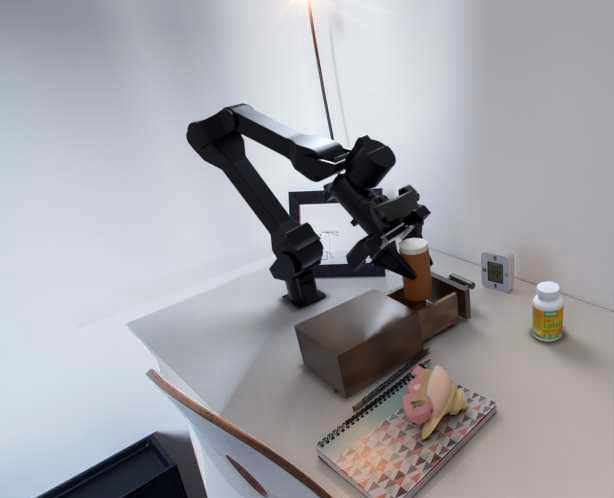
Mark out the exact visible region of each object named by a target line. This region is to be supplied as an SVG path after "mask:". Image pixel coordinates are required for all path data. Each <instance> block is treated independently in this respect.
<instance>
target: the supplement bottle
mask: <svg viewBox="0 0 614 498" xmlns="http://www.w3.org/2000/svg"><path fill="white" fill-rule="evenodd" d="M564 302H565V300H564V298H563V297H562V295H561V286H560V285H559V283H557V282H555V281H548V280H547V281H541V282H539V283H538V284H537V285H536V294H535V296H533V298H532V327H531V329H532V330H531V331H532V336H533V337H534V338H535V339H536V340H539V341H541V342H546V343H547V342H548V343H549V342H555V341H557V340H559V339H560V338H562V336H563V327H564V305H565V303H564Z"/></svg>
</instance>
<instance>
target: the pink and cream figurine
mask: <svg viewBox="0 0 614 498" xmlns="http://www.w3.org/2000/svg"><path fill="white" fill-rule="evenodd" d="M410 376H413V377H414V378H413V379H411V380H409V381H408V385H407V387H406V392H407V393H406V394H403V395H402V397H401V403H402V409H403V410H402V411H403V412H404V415H405V418H406V419H407V420H408V421H409V422H413V423H414V424H415V425H422V424H424V425H423V427H422V431H421V440H425V439H427V438H428V437H429V436H430V435H431V434H432V433H433V431H434V430H435V428H436V426H438V424H439V423H440V421H441V420H442V418H443V417H444V416H445V415H447V414H449V415H450V416H453V415H454V416H456V415H457V414H458V413H459V412H460V410H465V409H466V408H467V407H468V405H469V403H468V401H467V400H466V399H465V395H466V394H465V391H464V390H463V389H462V388H458V386H457V382H456V380H454V381H453V379H452V378H450V377H449V375H448V373H447V371H445V369H444V368H443V367H442V366H440V365H439V364H436V366H435V367H434V368H423V367H421V366H420V364H417V365H416V367H415V368H413V370H412V371H411V372H410ZM412 404H416V405H418V406H416V407H414V408H413V405H412Z"/></svg>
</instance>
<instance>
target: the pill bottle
mask: <svg viewBox="0 0 614 498" xmlns="http://www.w3.org/2000/svg"><path fill="white" fill-rule="evenodd" d="M399 243H400V244H399ZM399 243H398V247H399V249H398V252H399V254H400V255H401V256H402V257H403V259H404V260H405V261H406V262H407V263H408V265H409V266H410V267H411V268H412V269H413V271H414V272H415V274H416V275H417V278H416V279H415V280H411V279H408V278H406V277H404V276H401V278H402V285H403V286H404V295H405V297H406V299H408V300H411V301H423V300H426V301H427V299H428V298H430V297H431V296H432V294H433V291H432V280H431V271H432V269H431V267H430V258H429V254H430V249H429V244H428V243H429V242H428V240H427V239H424V238H423V239H422V238H409V239H406V240H403V241H402V240H400V242H399Z"/></svg>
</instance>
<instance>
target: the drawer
mask: <svg viewBox="0 0 614 498" xmlns="http://www.w3.org/2000/svg"><path fill="white" fill-rule="evenodd" d="M431 280H432V291H433V294H432V296H431V297H430V298H428V299H426V300H423V301H411V300H408V299H406V297H405V295H404V286H403V284H402V285H400V286H398V287H396V288H394V289H392V290H389V291H388V292H386V293H385V292H384V293H383V294H384V295H386V296H388V297H390V298H392V299H394V300H396V301H398V302H399V303H401V304H403V305H405V306H407V307H409V308H411V309H413V310H414V311H416V312H418V313H419V317H420V325H421V333H422V341H423V342H424V341H426V340H428V339H430V338H431V337H433V336H434V335H436V334H438V333H440V332H441V331H443V330H445V329H447V328H448V327H450V326H452V325H454V324H456V323H457V322H459V320H460V318H461V319H463V320H465V321H468V320H470V319H471V318H472V309H471V308H472V307H471V292H470V290H474V289H475V288H476V283H475V282H474V281H472V280H470V279H467V278H465V277H462V276H460V275H458V274H455V273H453V272H451V273H449V275H448V277H446V276H442V275H441V274H438V273H436V272H434V271H432V270H431ZM459 317H460V318H459Z"/></svg>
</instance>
